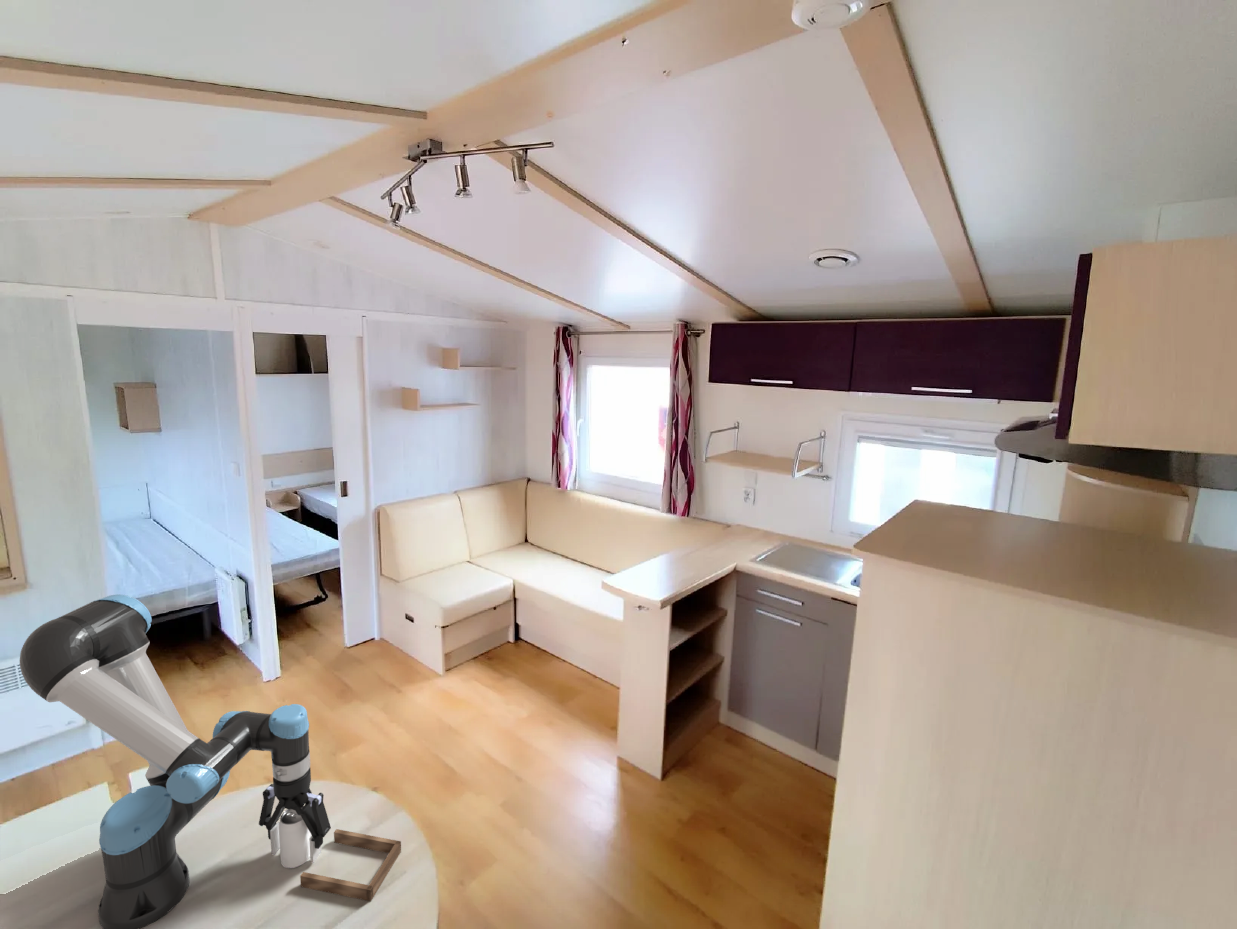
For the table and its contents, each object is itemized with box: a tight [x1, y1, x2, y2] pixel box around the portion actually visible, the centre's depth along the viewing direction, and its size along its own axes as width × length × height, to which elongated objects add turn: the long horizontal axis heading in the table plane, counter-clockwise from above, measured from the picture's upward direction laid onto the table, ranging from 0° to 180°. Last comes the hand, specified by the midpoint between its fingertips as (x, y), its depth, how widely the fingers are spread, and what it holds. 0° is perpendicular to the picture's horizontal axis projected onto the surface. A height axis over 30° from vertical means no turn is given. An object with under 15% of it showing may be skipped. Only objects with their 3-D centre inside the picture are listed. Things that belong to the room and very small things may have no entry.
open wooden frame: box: [299, 828, 402, 902], centre depth 134 cm, size 17×13×3 cm
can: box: [278, 805, 312, 869], centre depth 135 cm, size 6×6×12 cm
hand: (296, 853), depth 136 cm, fingers open, 9 cm apart
